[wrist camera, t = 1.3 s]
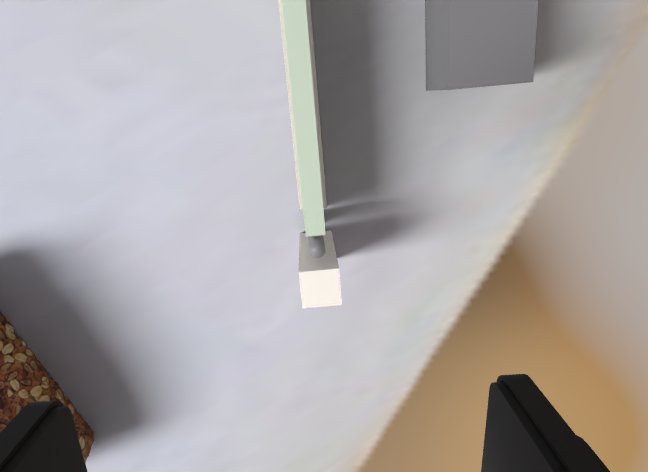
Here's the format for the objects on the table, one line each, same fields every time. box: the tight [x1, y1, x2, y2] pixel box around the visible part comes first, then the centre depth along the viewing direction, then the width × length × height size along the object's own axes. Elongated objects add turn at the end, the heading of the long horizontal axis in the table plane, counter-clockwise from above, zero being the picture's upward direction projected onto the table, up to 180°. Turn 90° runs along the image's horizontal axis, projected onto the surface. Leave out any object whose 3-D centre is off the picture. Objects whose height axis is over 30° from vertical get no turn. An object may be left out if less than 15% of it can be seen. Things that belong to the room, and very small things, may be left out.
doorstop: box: [425, 0, 539, 90], centre depth 26 cm, size 7×5×5 cm
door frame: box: [278, 0, 342, 308], centre depth 26 cm, size 22×2×8 cm, turn 5°
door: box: [282, 0, 326, 258], centre depth 26 cm, size 16×1×6 cm, turn 5°
